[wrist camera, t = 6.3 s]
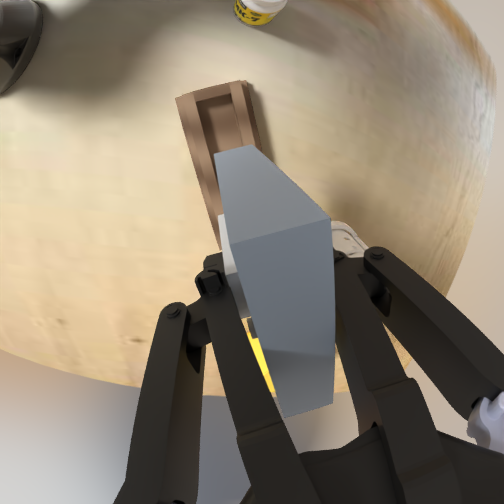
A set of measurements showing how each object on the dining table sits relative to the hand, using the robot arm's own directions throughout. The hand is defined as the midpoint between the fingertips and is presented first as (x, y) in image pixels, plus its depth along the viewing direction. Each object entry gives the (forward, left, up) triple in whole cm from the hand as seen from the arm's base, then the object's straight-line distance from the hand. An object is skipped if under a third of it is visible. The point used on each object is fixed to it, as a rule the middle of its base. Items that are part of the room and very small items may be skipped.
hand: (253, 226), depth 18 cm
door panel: (0, 0, -2) cm, 2 cm away
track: (0, 0, -17) cm, 17 cm away
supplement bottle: (-19, +7, -17) cm, 26 cm away
